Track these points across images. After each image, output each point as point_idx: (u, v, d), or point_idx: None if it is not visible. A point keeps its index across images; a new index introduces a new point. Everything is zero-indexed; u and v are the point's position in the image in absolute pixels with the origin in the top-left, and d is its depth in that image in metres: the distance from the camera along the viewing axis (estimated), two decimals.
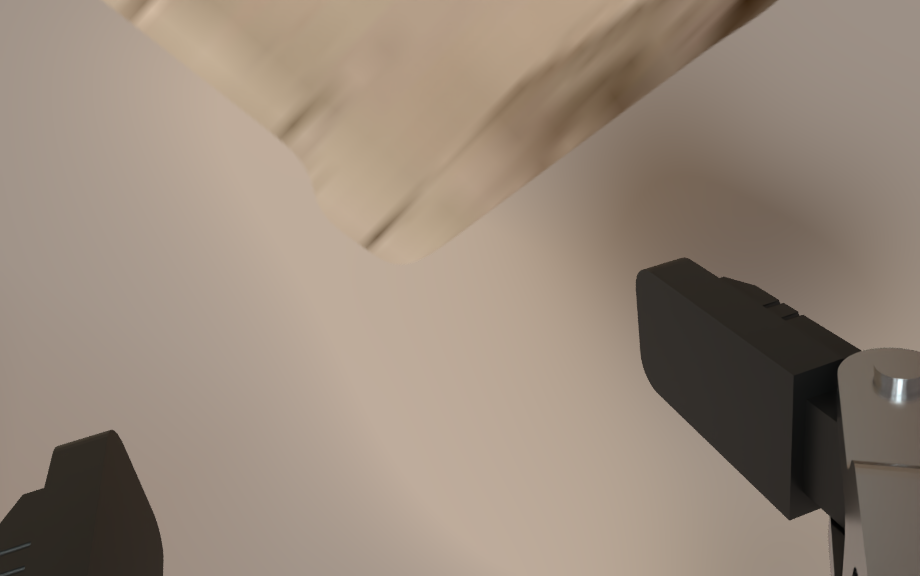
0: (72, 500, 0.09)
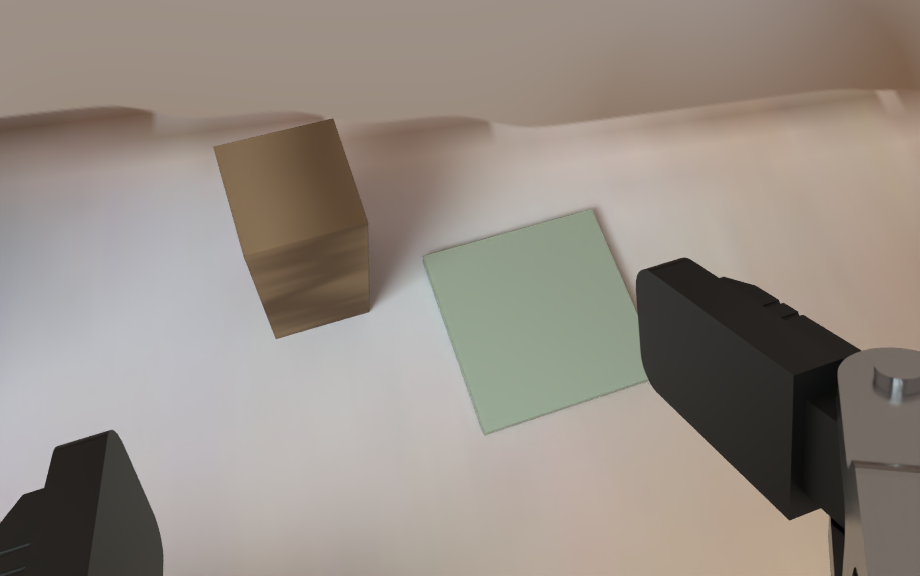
0: (72, 500, 0.09)
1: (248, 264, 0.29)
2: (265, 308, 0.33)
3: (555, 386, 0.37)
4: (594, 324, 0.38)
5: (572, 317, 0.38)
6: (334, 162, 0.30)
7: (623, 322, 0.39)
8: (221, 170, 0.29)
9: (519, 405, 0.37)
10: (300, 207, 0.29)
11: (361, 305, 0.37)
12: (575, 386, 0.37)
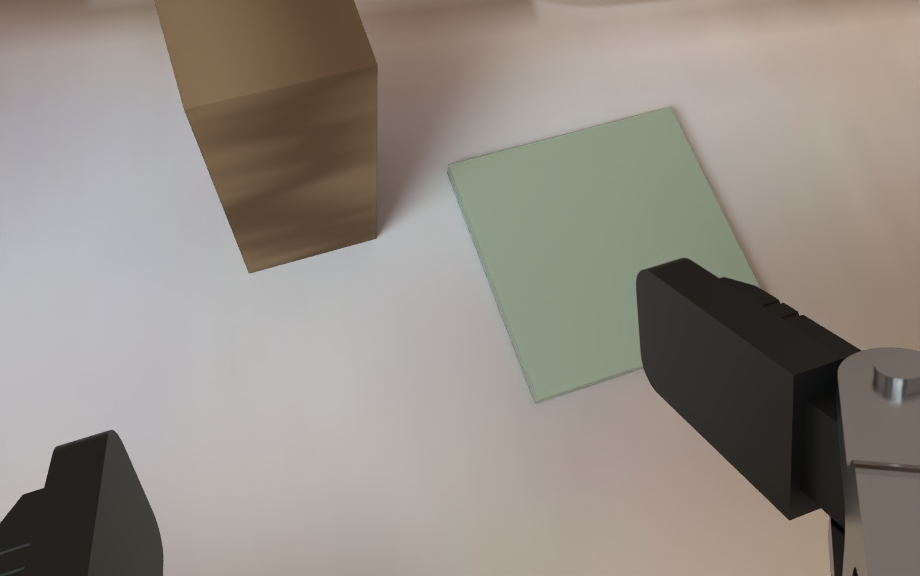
0: (72, 500, 0.09)
1: (194, 128, 0.19)
2: (229, 218, 0.23)
3: (631, 336, 0.27)
4: (681, 255, 0.28)
5: (651, 246, 0.28)
6: None
7: (720, 252, 0.29)
8: None
9: (583, 362, 0.27)
10: (272, 42, 0.19)
11: (365, 225, 0.27)
12: None
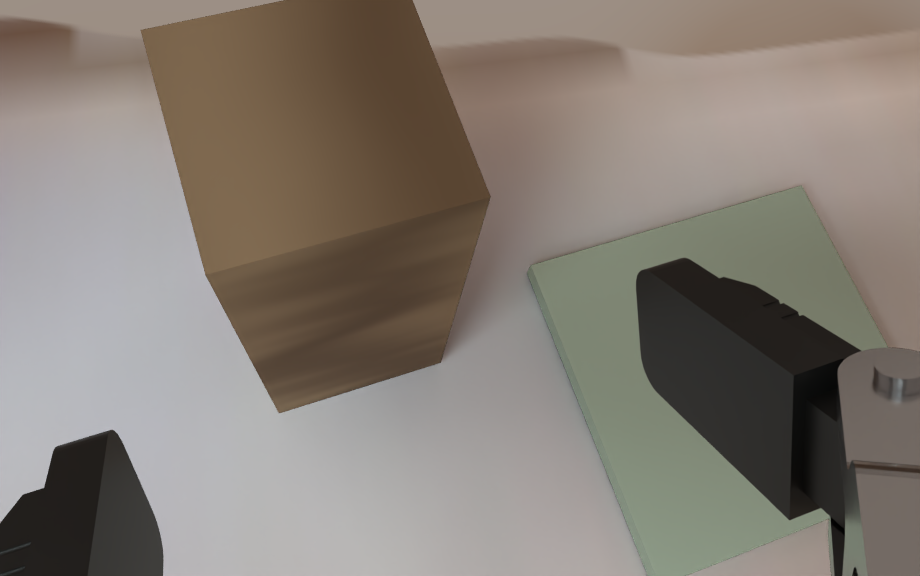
0: (72, 500, 0.09)
1: (219, 293, 0.13)
2: (259, 371, 0.17)
3: None
4: None
5: None
6: (410, 66, 0.13)
7: None
8: (157, 80, 0.13)
9: (713, 532, 0.21)
10: (336, 163, 0.13)
11: (430, 354, 0.21)
12: None
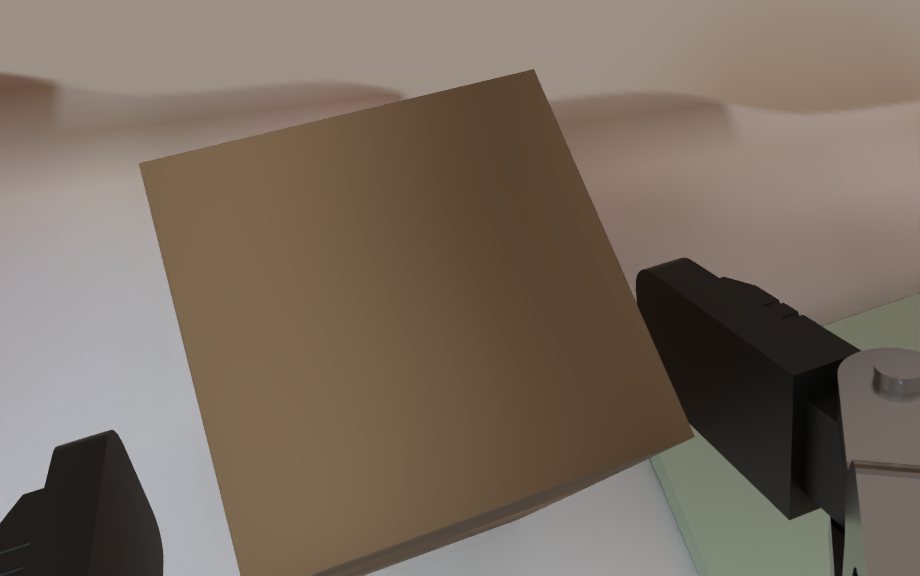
0: (72, 500, 0.09)
1: None
2: None
3: None
4: None
5: None
6: (554, 216, 0.09)
7: None
8: (165, 248, 0.08)
9: None
10: (449, 385, 0.08)
11: (514, 519, 0.16)
12: None
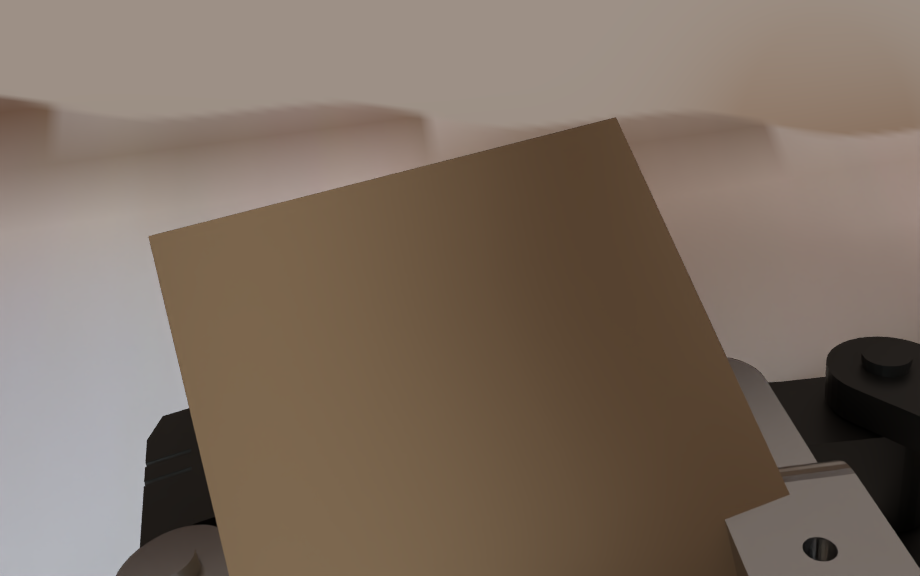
0: None
1: None
2: None
3: None
4: None
5: None
6: (648, 297, 0.07)
7: None
8: (181, 342, 0.07)
9: None
10: (528, 515, 0.06)
11: None
12: None
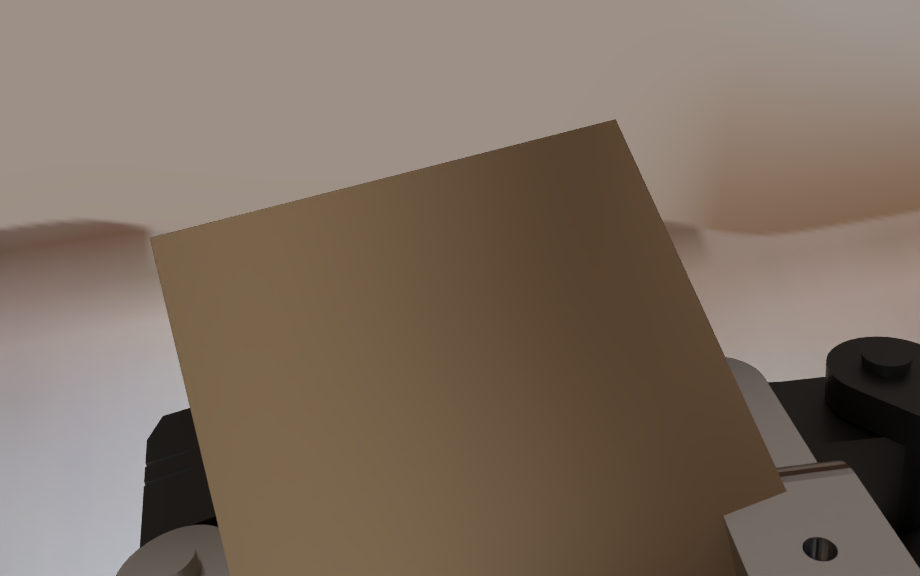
0: None
1: None
2: None
3: None
4: None
5: None
6: (647, 299, 0.07)
7: None
8: (182, 344, 0.07)
9: None
10: (529, 515, 0.06)
11: None
12: None
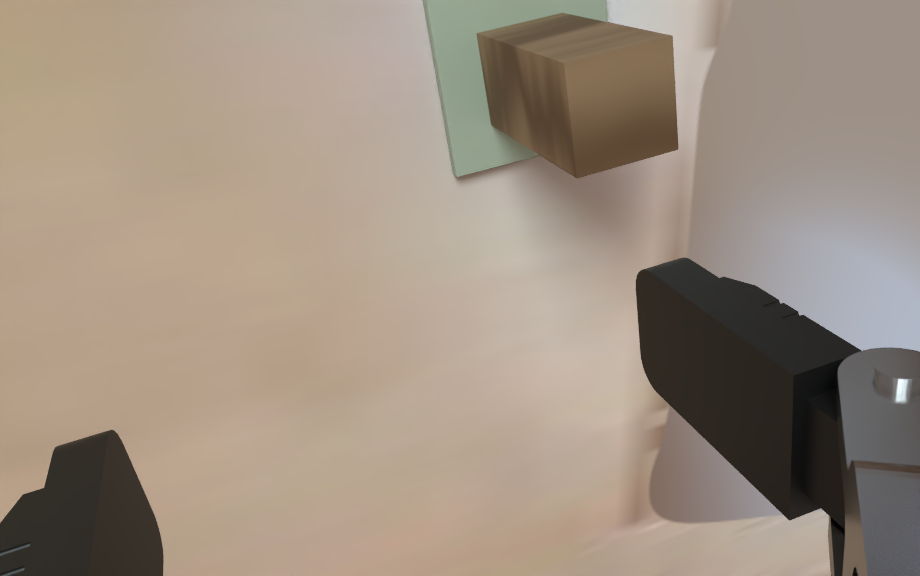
0: (72, 500, 0.09)
1: (554, 61, 0.30)
2: (508, 45, 0.34)
3: (459, 70, 0.39)
4: None
5: None
6: (636, 150, 0.32)
7: (508, 147, 0.41)
8: (648, 43, 0.30)
9: (446, 30, 0.38)
10: (600, 117, 0.31)
11: (498, 122, 0.39)
12: (456, 90, 0.39)
